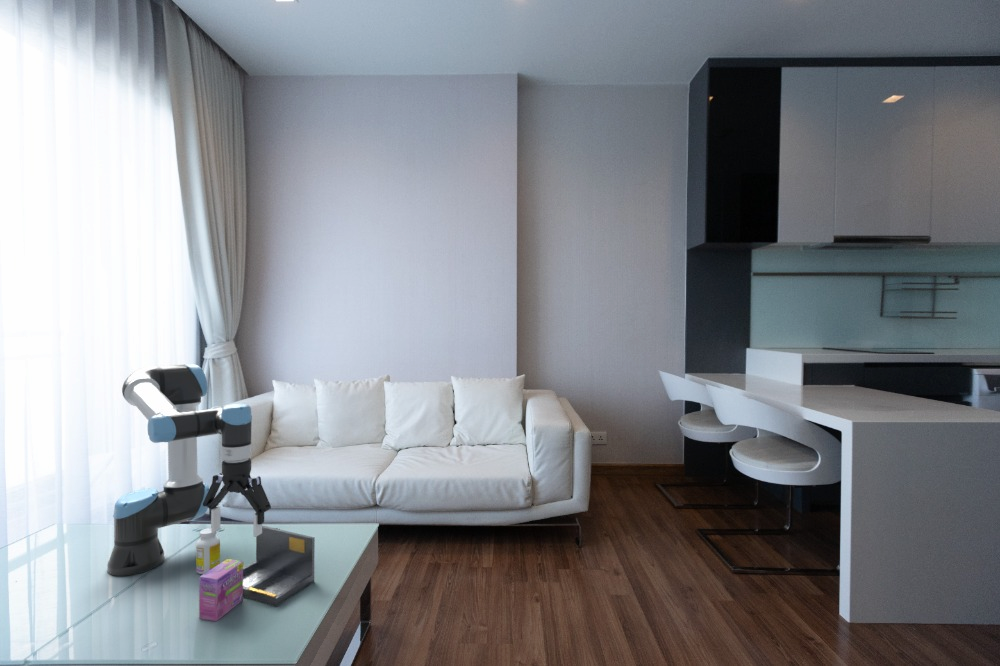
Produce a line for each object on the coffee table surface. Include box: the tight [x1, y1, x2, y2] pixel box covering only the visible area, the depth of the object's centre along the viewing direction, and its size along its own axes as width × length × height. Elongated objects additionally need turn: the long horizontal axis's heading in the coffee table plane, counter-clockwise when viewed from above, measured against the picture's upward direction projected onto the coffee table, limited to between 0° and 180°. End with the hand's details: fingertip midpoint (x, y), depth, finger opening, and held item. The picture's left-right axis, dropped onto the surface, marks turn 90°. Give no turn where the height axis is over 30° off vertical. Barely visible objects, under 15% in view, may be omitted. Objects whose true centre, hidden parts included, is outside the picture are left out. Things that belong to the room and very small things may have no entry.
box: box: [198, 558, 244, 622], centre depth 142 cm, size 10×6×12 cm, turn 168°
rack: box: [243, 525, 316, 608], centre depth 155 cm, size 23×15×14 cm, turn 68°
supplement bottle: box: [195, 527, 221, 575], centre depth 164 cm, size 7×7×13 cm
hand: (236, 532), depth 145 cm, fingers open, 13 cm apart
